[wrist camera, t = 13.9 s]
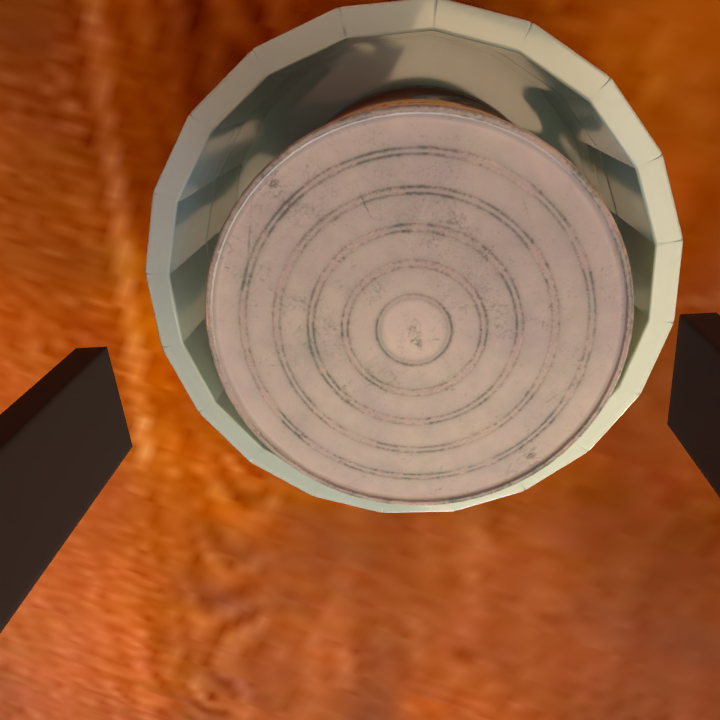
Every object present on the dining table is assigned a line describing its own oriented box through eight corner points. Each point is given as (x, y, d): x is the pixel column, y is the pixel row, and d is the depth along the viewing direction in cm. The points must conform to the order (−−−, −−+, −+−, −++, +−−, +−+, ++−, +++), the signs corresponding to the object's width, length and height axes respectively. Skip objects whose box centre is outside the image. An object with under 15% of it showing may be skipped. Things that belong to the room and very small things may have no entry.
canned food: (608, 193, 28) (732, 282, 17) (443, 392, 32) (455, 566, 21) (381, 23, 26) (354, -3, 15) (237, 259, 30) (134, 374, 19)
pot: (251, 405, 34) (198, 517, 25) (189, 39, 27) (90, 31, 19) (593, 392, 32) (654, 507, 24) (618, -4, 25) (714, -33, 17)
